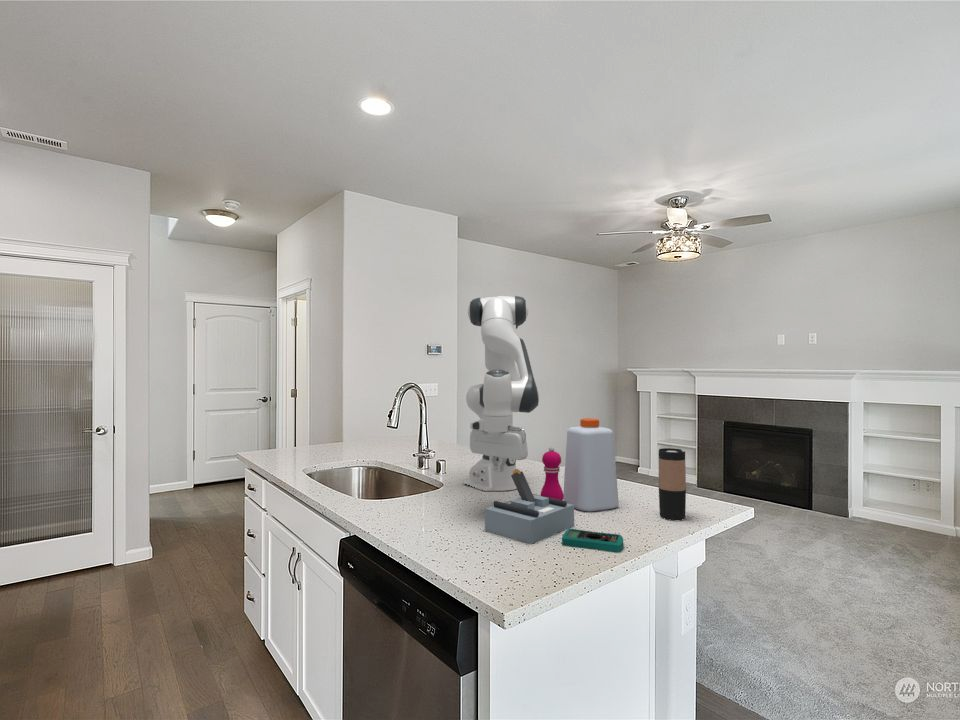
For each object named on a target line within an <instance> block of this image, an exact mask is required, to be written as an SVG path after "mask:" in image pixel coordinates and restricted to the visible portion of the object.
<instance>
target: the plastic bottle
mask: <svg viewBox="0 0 960 720" xmlns="http://www.w3.org/2000/svg"><path fill="white" fill-rule="evenodd" d="M579 423H580V424H579V425H580V426H571V427H568V428H567V432H566V447H565V463H564V478H563V496H564V497H563V501H566V502H567V503H569V504H573V505H574V509H575V510H576V509H577V510H579V511H582V512H599V511H605V510H612V509H613V510H614V509H616V508H617V507H618V506H619V491H618V490H619V488H618V479H617V468H616V453H615V440H614V439H615V438H614V431H613V430H612V429H610V428H608V427H603V426H600V420H599V418H587V417H586V418H581V419H580V421H579Z"/></svg>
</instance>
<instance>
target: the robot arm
mask: <svg viewBox="0 0 960 720" xmlns="http://www.w3.org/2000/svg"><path fill="white" fill-rule="evenodd" d="M467 315H468V316H467V317H468V318H469V319H468V320H469V321H470V323H471V324H472V325H473V326H476V327H480V329H481V330H480V331H481V332H480V333H481V339H482V340H481V341H482V343H483V344H484V365H485V368H486V370H487V371H486V372H485V374H484V378H483V379H484V380H483V383H480V384H475V385H471V386H470V387H469V388H468V390H467V393H466V395H465V396H466V397H465V400H466V404H467V407H469V410H470V411H472V412H473V413H474V414H475V415H477V417H478V418H479V419H478V420H475V421H473V422H470V425H469V426H470V430H471V431H470V434H469V449H470V452H471V453H472V454H477V455H482V458H481V459H480V460H478V461H477V462H476V463H475V464H474V465H473V466H472V467H470V470H469V476H468V478H467V479H464V480H462V481H463V482H462V484H463V483H464V484H463V485H465V484H467V485H466V486H468V485H470V486H469V487H471V486H472V487H471V488H474V487H475V488H474V489H477V490H480V491H482V490H483V492H490V491H496V492H501V491H502V492H504V491H513V490H514V491H515V490H517V488H516V486H515V483H514V481H513V479H512V477H511V475H513V474H512V473H513V470H515V469H517V464H516V463H517V461H523V460H526V459H527V457H528V456H529V455H528V454H529V452H528V443H527V433H526V431H525V430H524V429H523V428H522V427H520V426H514V424H513V423H514V422H513V421H514V420H513V416H514V414H513V413H526V414H527V413H531V412H533V411H534V410H535V409H537V407H538V406H539V403H540V393H539V389H538V387H537V383H536V381H535V377H534V373H533V369H532V366H531V361H530V358H529V354H528V349H527V346H526V343H525V341H524V340H523V339H522V337H519V336H518V335H517V334H516V332H515V330H517V329H518V327H520V326H521V325H523V324H524V323H526V321H527V318H528V315H529V305H528V303H527V301H526V299H525V297H524V296H523V297H522V296H518V295H515V296H510V295H498V296H487V297H482V298H481V297H476V298H473V299H472V300H471V301H470V302H469V305H468V308H467ZM514 326H515V329H514ZM515 363H516V364H517V367H516V364H515ZM517 369H518V371H517Z"/></svg>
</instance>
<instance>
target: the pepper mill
mask: <svg viewBox="0 0 960 720" xmlns="http://www.w3.org/2000/svg"><path fill="white" fill-rule="evenodd" d="M541 462H542V464H543V465H544V466H543V472H545V478H544V479H545V480H544V483H543V485H542V488H541V491H540V496H544V497H549V498H554V499H559V500H563V497H564V496H563V492H564V490H563V488H562V486H561V484H560V480H559V473H560V471H561V470H560V465H561V463H562V456H561V455H560V453H558V452H557V451H555V447H553V446H552V445H551V446H550V447H548V451H546V452H544V453H543V454H542V457H541ZM563 501H564V500H563Z"/></svg>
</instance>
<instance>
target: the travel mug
mask: <svg viewBox="0 0 960 720" xmlns="http://www.w3.org/2000/svg"><path fill="white" fill-rule="evenodd" d="M686 478H687V476H686V451H684V450H682V449H681V448H673V447H669V448H666V447H664V448H658V500H659V502H658V503H659V504H658V505H659V507H658V508H659V516H661V517H663V518H662V519H664V518H665V519H664V520H667V519H671V520H670V521H674V520H679V521H683V520H682V519H684V520H686V509H687V508H686V500H687V499H686V498H687V482H686V481H687V479H686ZM661 517H660V518H661Z"/></svg>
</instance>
